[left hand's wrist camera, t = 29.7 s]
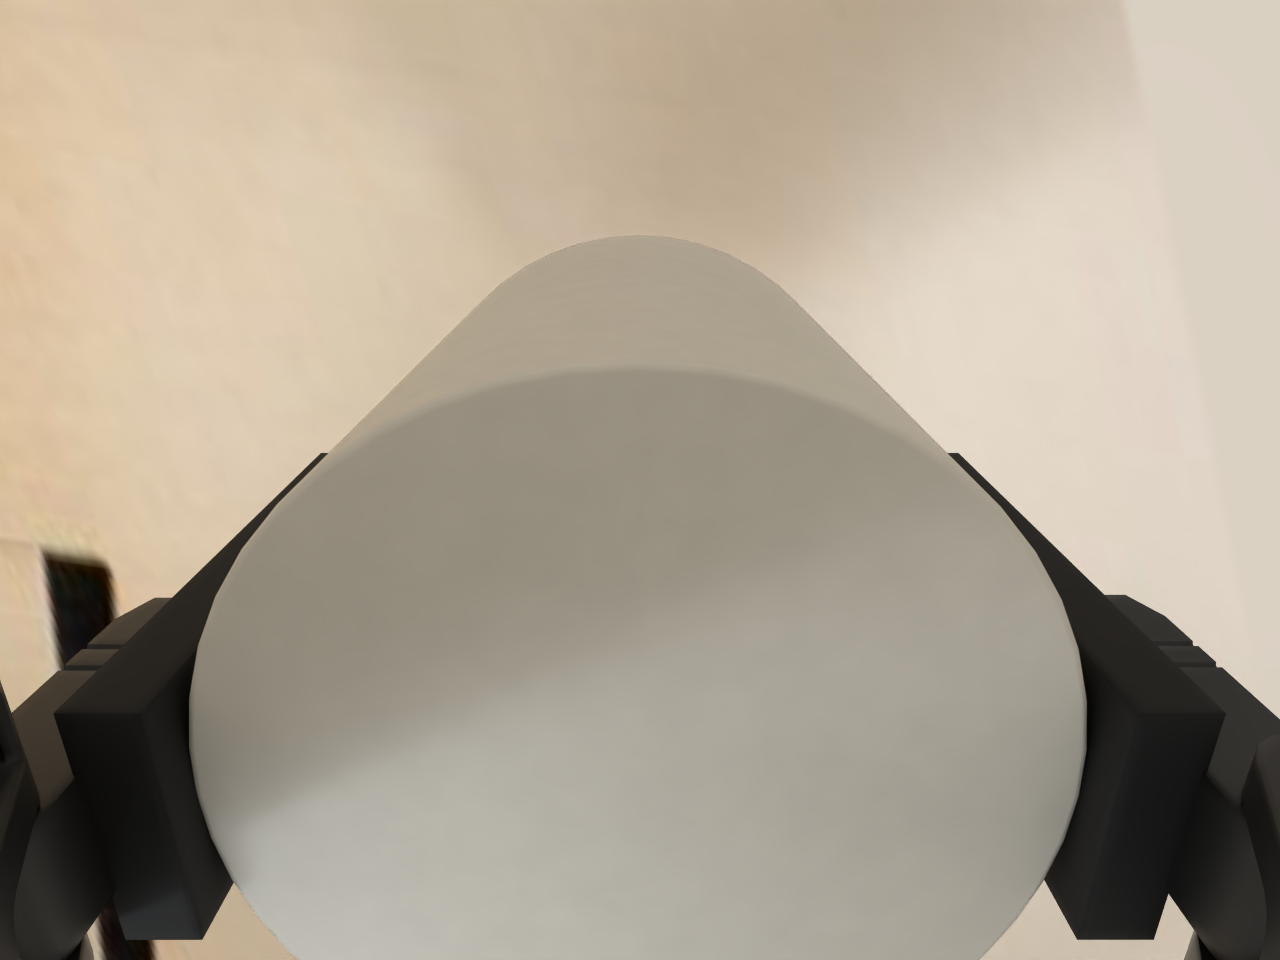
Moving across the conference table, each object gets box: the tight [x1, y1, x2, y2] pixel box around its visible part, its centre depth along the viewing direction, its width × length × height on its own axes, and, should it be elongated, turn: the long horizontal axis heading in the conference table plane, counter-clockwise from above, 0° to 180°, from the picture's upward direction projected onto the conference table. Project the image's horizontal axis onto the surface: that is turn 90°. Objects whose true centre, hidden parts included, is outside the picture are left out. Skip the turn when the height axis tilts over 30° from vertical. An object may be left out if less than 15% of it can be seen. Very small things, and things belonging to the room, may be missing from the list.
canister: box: [189, 236, 1087, 960], centre depth 13 cm, size 9×9×10 cm
